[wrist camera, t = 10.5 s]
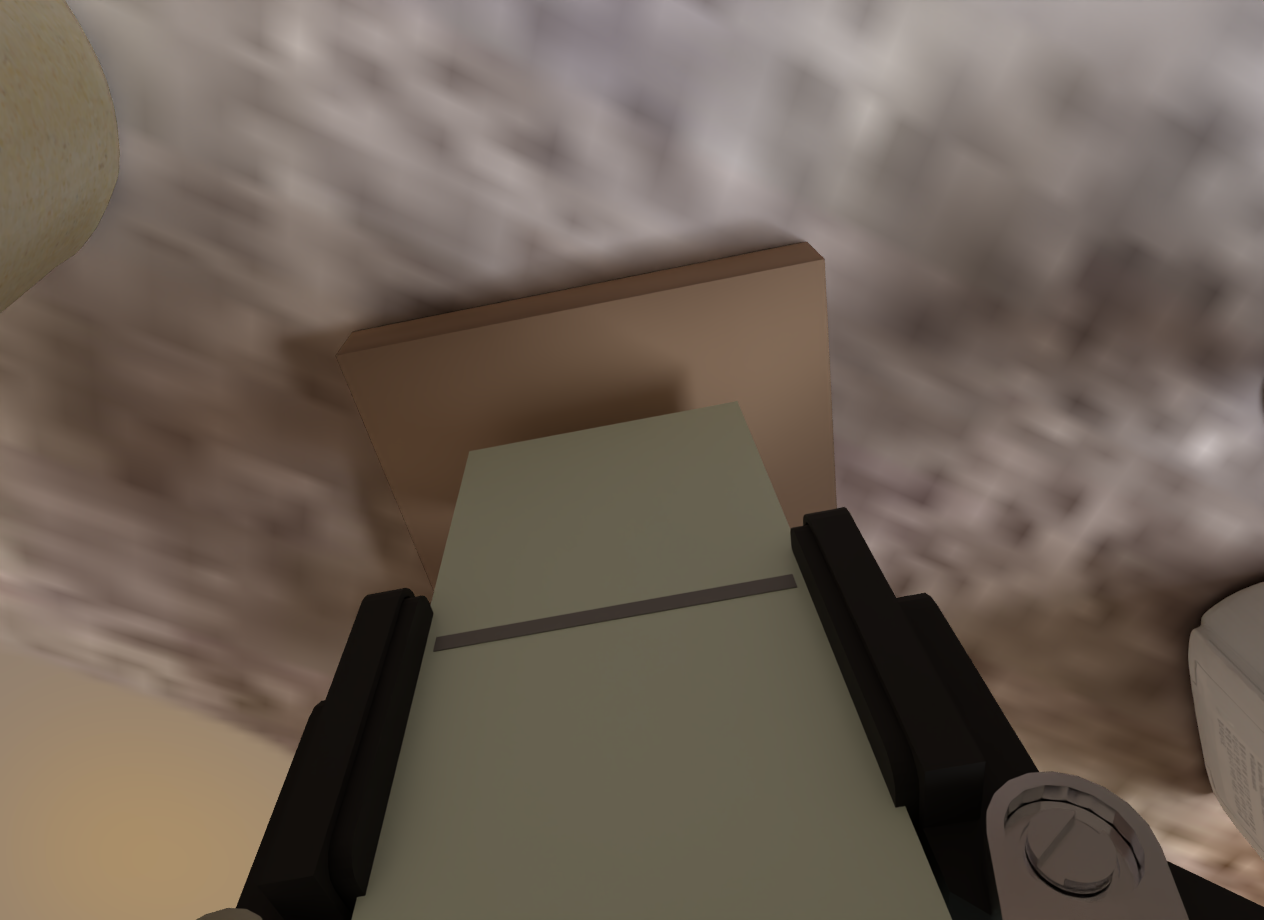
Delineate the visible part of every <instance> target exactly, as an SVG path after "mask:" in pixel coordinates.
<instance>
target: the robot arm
mask: <svg viewBox="0 0 1264 920" xmlns="http://www.w3.org/2000/svg"><path fill="white" fill-rule="evenodd" d="M790 536H791V547H792V551H793V554H794V556H795V559H796V561H797V564H798V566H799V569H800V571H801V574H802V576H803V579H804V581H805V583H806V586H807V588H808V591H809V593H810V596H811V598H812V601H813V603H814V606H815V608H816V611H817V613H818V616H819V618H820V621H821V623H822V626H823V628H824V631H825V633H826V636H827V638H828V641H829V643H830V646H831V648H832V651H833V653H834V656H835V658H836V661H837V663H838V666H839V668H840V671H841V673H842V676H843V678H844V681H845V683H846V686H847V688H848V691H849V693H850V696H851V698H852V701H853V703H854V706H855V708H856V711H857V713H858V716H859V718H860V721H861V723H862V726H863V728H864V731H865V733H866V736H867V738H868V741H869V743H870V746H871V748H872V751H873V753H874V756H875V758H876V761H877V763H878V766H879V768H880V771H881V773H882V776H883V778H884V781H885V783H886V786H887V788H888V791H889V793H890V796H891V798H892V801H893V803H894V806H895V808H897V807H903V806H905V807H906V810H907V812H908V814H909V817H910V819H911V822H912V824H913V826H914V829H915V831H916V834H917V836H918V839H919V841H920V843H921V846H922V848H923V851H924V853H925V855H926V858H927V860H928V863H929V865H930V867H931V870H932V872H933V875H934V877H935V880H936V882H937V884H938V887H939V889H940V892H941V894H942V896H943V899H944V901H945V904H946V906H947V909H948V911H949V913H950V916H951V918H952V920H1264V907H1263V906H1261V905H1258V904H1256V903H1254V902H1252V901H1250V900H1248V899H1246V898H1244V897H1242V896H1240V895H1237V894H1235V893H1233V892H1231V891H1229V890H1227V889H1225V888H1223V887H1221V886H1219V885H1217V884H1214V883H1212V882H1210V881H1208V880H1206V879H1204V878H1202V877H1200V876H1198V875H1196V874H1193V873H1191V872H1189V871H1187V870H1185V869H1183V868H1181V867H1179V866H1177V865H1175V864H1173V863H1170V862H1168V861H1166V858H1165V855H1164V853H1163V850H1162V848H1161V846H1160V844H1159V842H1158V841H1157V839H1156V837H1155V835H1154V833H1153V832H1152V830H1151V828H1150V826H1149V825H1148V823H1147V822H1146V821H1145V820H1144V819H1143V818H1142V817H1141V816H1140V815H1139V814H1138V813H1137V812H1136V811H1135V810H1134V809H1133V808H1132V807H1131V806H1130V805H1129V804H1128V803H1127V802H1125V801H1124V800H1123V799H1121V798H1120V797H1118V796H1117V795H1115V794H1114V793H1112V792H1111V791H1109V790H1108V789H1106V788H1105V787H1103V786H1100V785H1098V784H1096V783H1093V782H1091V781H1088V780H1086V779H1084V778H1081V777H1079V776H1074V775H1069V774H1063V773H1058V772H1039V771H1038V769H1037V768H1036V766H1035V764H1034V763H1033V761H1032V759H1031V758H1030V756H1029V754H1028V753H1027V751H1026V749H1025V748H1024V746H1023V745H1022V743H1021V741H1020V740H1019V738H1018V736H1017V735H1016V733H1015V731H1014V730H1013V728H1012V727H1011V725H1010V723H1009V722H1008V720H1007V718H1006V717H1005V715H1004V713H1003V712H1002V710H1001V709H1000V707H999V705H998V704H997V702H996V700H995V699H994V697H993V695H992V694H991V692H990V691H989V689H988V687H987V686H986V684H985V682H984V681H983V679H982V677H981V676H980V674H979V673H978V671H977V669H976V668H975V666H974V664H973V663H972V661H971V659H970V658H969V656H968V655H967V653H966V651H965V650H964V648H963V646H962V645H961V643H960V641H959V640H958V638H957V637H956V635H955V633H954V632H953V630H952V628H951V627H950V625H949V623H948V622H947V620H946V619H945V617H944V615H943V614H942V612H941V610H940V609H939V607H938V605H937V604H936V603H935V601H934V600H933V599H932V597H931V596H929V595H928V594H926V593H921V594H916V595H910V596H904V597H899V598H896V597H895V595H894V593H893V591H892V589H891V588H890V586H889V584H888V582H887V580H886V579H885V577H884V575H883V573H882V571H881V569H880V568H879V566H878V564H877V562H876V560H875V558H874V557H873V555H872V553H871V551H870V549H869V547H868V546H867V544H866V542H865V540H864V538H863V537H862V535H861V533H860V531H859V529H858V527H857V526H856V524H855V522H854V520H853V518H852V516H851V515H850V513H849V511H848V510H847V508H845V507H842V508H837V509H831V510H826V511H820V512H815V513H809V514H805V515H804V516H803V526H798V527H792V528H791V530H790ZM433 614H434V613H433V610H432V608H431V606H430V603H429V601H428V600H427V598H426V597H425V596H417V597H415V596H414V594H413V592H412V591H411V590H410V589H408V588H403V589H397V590H392V591H386V592H381V593H376V594H370V595H367V596H366V597H364V599H363V601H362V603H361V606H360V608H359V611H358V614H357V616H356V619H355V622H354V624H353V627H352V630H351V633H350V635H349V638H348V641H347V643H346V646H345V649H344V651H343V654H342V657H341V660H340V662H339V665H338V668H337V670H336V673H335V676H334V678H333V681H332V684H331V687H330V689H329V692H328V695H327V697H326V700H324V701H321V702H320V703H319V704H317V705H316V706H315V707H314V709H313V711H312V713H311V715H310V717H309V719H308V722H307V724H306V727H305V730H304V732H303V735H302V737H301V740H300V743H299V745H298V748H297V750H296V753H295V756H294V758H293V761H292V763H291V766H290V769H289V771H288V774H287V777H286V779H285V782H284V784H283V787H282V790H281V792H280V795H279V797H278V800H277V802H276V805H275V808H274V810H273V813H272V815H271V818H270V821H269V823H268V826H267V829H266V831H265V834H264V836H263V839H262V841H261V844H260V847H259V849H258V852H257V854H256V857H255V860H254V862H253V865H252V867H251V870H250V873H249V875H248V878H247V881H246V883H245V886H244V888H243V891H242V893H241V896H240V899H239V901H238V904H237V907H236V908H226V909H223V910H219V911H216V912H212V913H209V914H206V915H204V916H202V917H200V918H198V919H197V920H351V919H352V915H353V911H354V907H355V904H356V900H357V897H361V896H365V895H366V891H367V887H368V883H369V879H370V874H371V870H372V866H373V862H374V858H375V854H376V850H377V846H378V841H379V837H380V833H381V829H382V825H383V821H384V817H385V812H386V808H387V804H388V800H389V796H390V792H391V788H392V784H393V779H394V775H395V771H396V767H397V763H398V759H399V755H400V750H401V746H402V742H403V738H404V734H405V730H406V726H407V722H408V717H409V713H410V709H411V705H412V701H413V697H414V693H415V689H416V684H417V680H418V676H419V672H420V668H421V664H422V660H423V655H424V651H425V647H426V643H427V639H428V635H429V631H430V627H431V622H432V618H433Z"/></svg>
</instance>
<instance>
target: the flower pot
mask: <svg viewBox="0 0 1264 920" xmlns="http://www.w3.org/2000/svg"><path fill="white" fill-rule="evenodd" d="M119 157H120V152H119V139H118V130H117V121H116V116H115V110H114V105H113V102H112V98H111V94H110V91H109V87H108V84H107V81H106V78H105V76H104V73H103V70H102V68H101V65H100V63H99V61H98V59H97V56H96V54H95V52H94V50H93V48H92V46H91V44H90V42H89V41H88V39H87V37H86V35H85V33H84V31H83V29H82V28H81V26H80V24H79V22H78V21H77V19H76V17H75V16H74V14H73V13H72V11H71V9H70V8H69V6H68V5H67V3H66V1H65V0H0V313H1V312H2V311H4V310H5V309H6V308H7V307H8V306H10V305H11V304H12V303H13V302H14V301H16V300H17V299H18V298H19V297H20V296H22V295H23V294H24V293H25V292H26V291H28V290H29V289H30V288H31V287H32V286H33V285H35V284H36V283H37V282H38V281H39V280H41V279H42V278H43V277H44V276H45V275H47V274H48V273H49V272H50V271H51V270H53V269H54V268H55V267H56V266H58V265H59V264H61V263H63V262H64V261H66V260H67V259H69V258H70V257H71V256H73V255H74V254H75V253H77V252H78V251H79V250H80V248H81V247H82V246H83V245H84V244H85V243H86V241H87V240H88V239H89V237H90V236H91V235H92V233H93V232H94V231H95V229H96V228H97V226H98V224H99V222H100V220H101V218H102V216H103V214H104V211H105V209H106V207H107V205H108V203H109V201H110V198H111V195H112V192H113V190H114V187H115V184H116V181H117V178H118V173H119Z"/></svg>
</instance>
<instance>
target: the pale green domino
mask: <svg viewBox="0 0 1264 920" xmlns="http://www.w3.org/2000/svg"><path fill="white" fill-rule="evenodd" d="M790 530H791V529H790V527H789V525H788V522H787V520H786V517H785V515H784V512H783V510H782V508H781V505H780V503H779V500H778V498H777V496H776V493H775V491H774V488H773V486H772V483H771V481H770V479H769V476H768V474H767V471H766V469H765V467H764V464H763V462H762V459H761V457H760V454H759V452H758V450H757V447H756V445H755V442H754V440H753V438H752V435H751V433H750V430H749V428H748V425H747V423H746V421H745V418H744V416H743V413H742V411H741V409H740V406H739V404H738V401H735V402H730V403H724V404H719V405H714V406H708V407H703V408H698V409H692V410H687V411H682V412H676V413H671V414H666V415H660V416H655V417H650V418H644V419H639V420H633V421H628V422H623V423H617V424H612V425H607V426H601V427H596V428H591V429H585V430H580V431H575V432H569V433H564V434H559V435H553V436H548V437H543V438H537V439H532V440H527V441H521V442H516V443H511V444H505V445H500V446H495V447H489V448H484V449H479V450H473V451H469V455H468V459H467V463H466V466H465V470H464V474H463V478H462V482H461V486H460V490H459V494H458V498H457V502H456V506H455V510H454V514H453V518H452V522H451V526H450V530H449V534H448V538H447V542H446V546H445V550H444V554H443V558H442V562H441V566H440V570H439V574H438V578H437V582H436V586H435V590H434V594H433V598H432V602H431V608H432V610H433V613H434V614H433V618H432V622H431V627H430V631H429V635H428V639H427V643H426V647H425V651H424V655H423V660H422V664H421V668H420V672H419V676H418V680H417V684H416V689H415V693H414V697H413V701H412V705H411V709H410V713H409V717H408V722H407V726H406V730H405V734H404V738H403V742H402V746H401V750H400V755H399V759H398V763H397V767H396V771H395V775H394V779H393V784H392V788H391V792H390V796H389V800H388V804H387V808H386V812H385V817H384V821H383V825H382V829H381V833H380V837H379V841H378V846H377V850H376V854H375V858H374V862H373V866H372V870H371V874H370V879H369V883H368V887H367V891H366V895H365V896H361V897H357V900H356V904H355V907H354V911H353V915H352V919H351V920H952V918H951V916H950V913H949V911H948V909H947V906H946V904H945V901H944V899H943V896H942V894H941V892H940V889H939V887H938V884H937V882H936V880H935V877H934V875H933V872H932V870H931V867H930V865H929V863H928V860H927V858H926V855H925V853H924V851H923V848H922V846H921V843H920V841H919V839H918V836H917V834H916V831H915V829H914V826H913V824H912V822H911V819H910V817H909V814H908V812H907V810H906V807H905V806H903V807H897V808H895V806H894V803H893V801H892V798H891V796H890V793H889V791H888V788H887V786H886V783H885V781H884V778H883V776H882V773H881V771H880V768H879V766H878V763H877V761H876V758H875V756H874V753H873V751H872V748H871V746H870V743H869V741H868V738H867V736H866V733H865V731H864V728H863V726H862V723H861V721H860V718H859V716H858V713H857V711H856V708H855V706H854V703H853V701H852V698H851V696H850V693H849V691H848V688H847V686H846V683H845V681H844V678H843V676H842V673H841V671H840V668H839V666H838V663H837V661H836V658H835V656H834V653H833V651H832V648H831V646H830V643H829V641H828V638H827V636H826V633H825V631H824V628H823V626H822V623H821V621H820V618H819V616H818V613H817V611H816V608H815V606H814V603H813V601H812V598H811V596H810V593H809V591H808V588H807V586H806V583H805V581H804V579H803V576H802V574H801V571H800V569H799V566H798V564H797V561H796V559H795V556H794V554H793V551H792V547H791V536H790Z"/></svg>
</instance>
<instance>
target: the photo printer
mask: <svg viewBox="0 0 1264 920" xmlns="http://www.w3.org/2000/svg"><path fill="white" fill-rule="evenodd" d="M1188 663H1189V672H1190V679H1191V687H1192V694H1193V699H1194V706H1195V713H1196V718H1197V724H1198V729H1199V735H1200V740H1201V745H1202V751H1203V756H1204V760H1205V767H1206V770H1207V774H1208V777H1209V781H1210V784H1211V787H1212V790H1213V792H1214V794H1215V796H1216V798H1217V799H1218V801H1219V803H1220V805H1221V806H1222V808H1223V810H1224V811H1225V812H1226V814H1227V815H1228V817H1229V818H1230V819H1231V821H1232V822H1233V824H1234V825H1235V826H1236V828H1237V829H1238V830H1239V831H1240V833H1241V834H1242V835H1243V836H1244V837H1245V839H1246V840H1247V841H1248V842H1249V844H1250V845H1251V846H1252V847H1253V848H1254V850H1255V851H1256V852H1257V853H1258V854H1259V856H1260V857H1261V858H1262V859H1263V860H1264V582H1261V583H1258V584H1255V585H1252V586H1250V587H1247V588H1245V589H1242V590H1240V591H1238V592H1236V593H1234V594H1232V595H1230V596H1228V597H1227V598H1225V599H1223V600H1222V601H1220V602H1219V603H1217V604H1216V605H1214V606H1213V607H1212V608H1210V609H1209V610H1208V611H1207V612H1206V613H1205V614H1204V615H1203V616H1202V618H1201V626H1200V627H1197V628H1195V629H1193V630H1192V632H1191V635H1190V639H1189V651H1188Z"/></svg>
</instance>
